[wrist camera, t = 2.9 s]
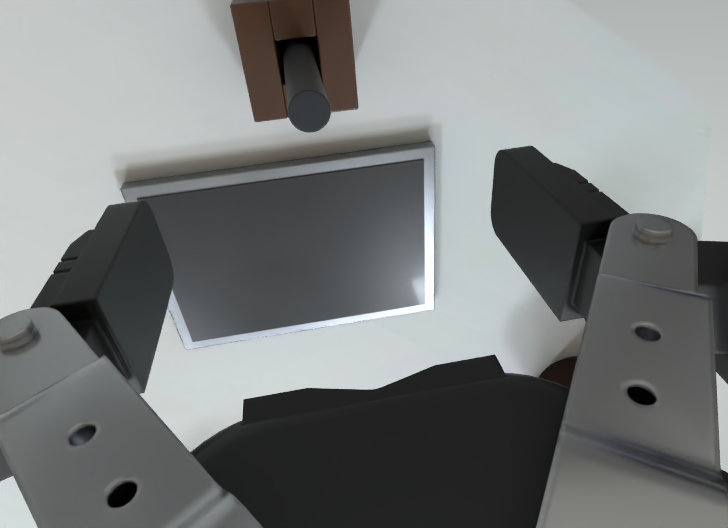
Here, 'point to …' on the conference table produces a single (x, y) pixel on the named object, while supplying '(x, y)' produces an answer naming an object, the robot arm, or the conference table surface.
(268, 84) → the pen holder
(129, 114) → the conference table surface
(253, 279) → the tablet
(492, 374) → the robot arm
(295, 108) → the dark gray rod
